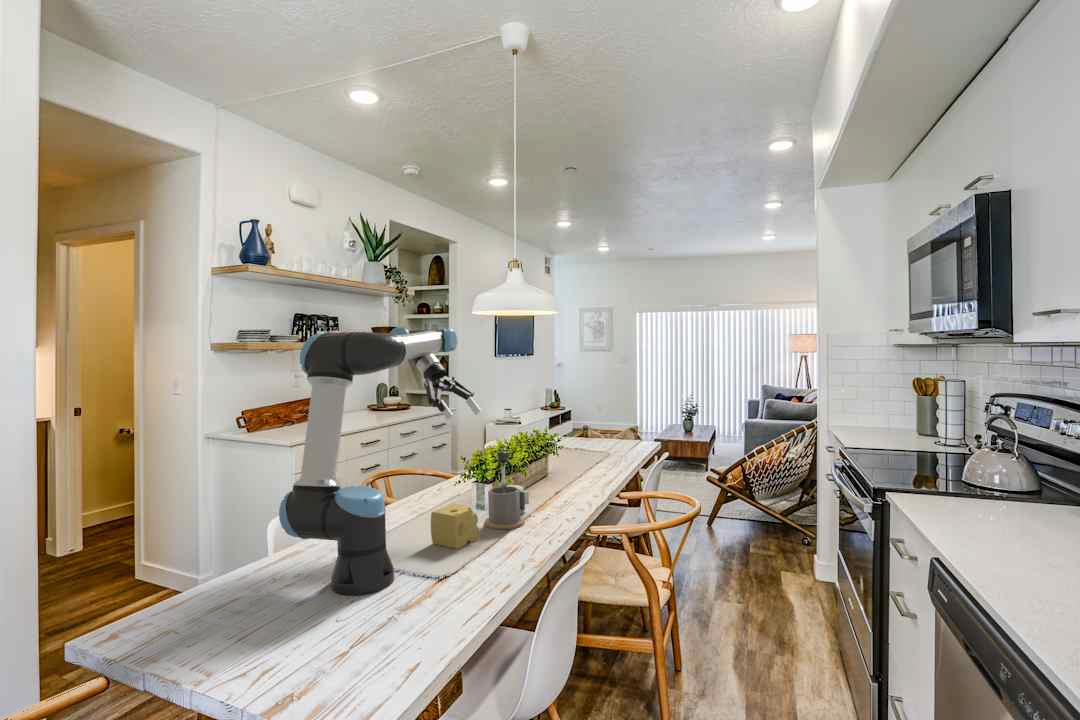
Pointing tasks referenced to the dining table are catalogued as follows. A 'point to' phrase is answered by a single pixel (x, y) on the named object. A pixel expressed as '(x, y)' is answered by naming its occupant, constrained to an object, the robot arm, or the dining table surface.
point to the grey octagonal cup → (505, 508)
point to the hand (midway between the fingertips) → (464, 415)
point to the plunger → (503, 467)
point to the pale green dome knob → (526, 495)
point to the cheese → (454, 526)
